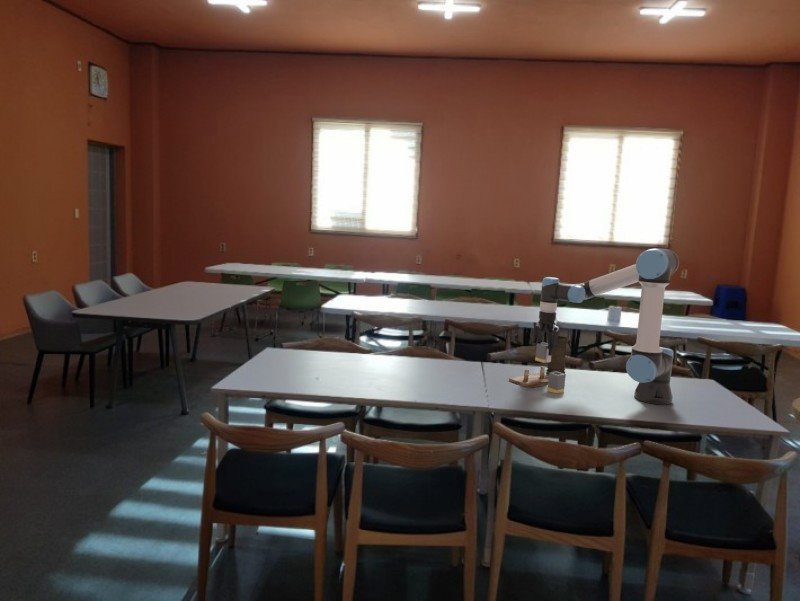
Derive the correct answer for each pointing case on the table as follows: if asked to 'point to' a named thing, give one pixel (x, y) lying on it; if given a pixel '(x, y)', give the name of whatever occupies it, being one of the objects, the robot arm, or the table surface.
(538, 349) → the sleeve
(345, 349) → the table surface
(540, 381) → the pin board
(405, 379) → the table surface
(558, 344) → the container
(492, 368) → the table surface
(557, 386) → the sleeve
